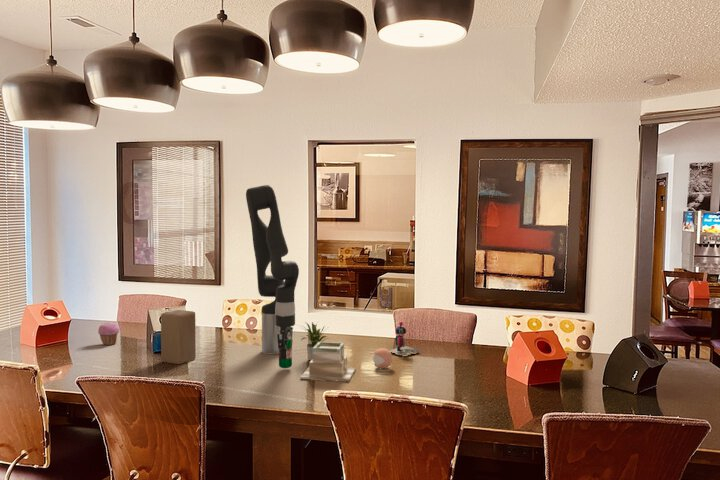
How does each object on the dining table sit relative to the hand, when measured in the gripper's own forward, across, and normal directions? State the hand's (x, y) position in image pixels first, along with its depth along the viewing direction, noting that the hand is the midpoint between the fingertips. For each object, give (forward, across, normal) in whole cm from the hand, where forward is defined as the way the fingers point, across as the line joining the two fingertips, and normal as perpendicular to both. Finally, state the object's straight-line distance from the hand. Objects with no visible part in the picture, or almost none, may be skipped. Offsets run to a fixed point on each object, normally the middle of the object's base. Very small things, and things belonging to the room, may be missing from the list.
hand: (285, 356), depth 215 cm
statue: (+6, -33, +44) cm, 55 cm away
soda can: (+4, 0, 0) cm, 4 cm away
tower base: (+5, +4, +18) cm, 19 cm away
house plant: (+6, -16, +7) cm, 19 cm away
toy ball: (+6, -8, +37) cm, 38 cm away
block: (+6, -6, -46) cm, 47 cm away
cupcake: (+6, -28, -90) cm, 94 cm away
